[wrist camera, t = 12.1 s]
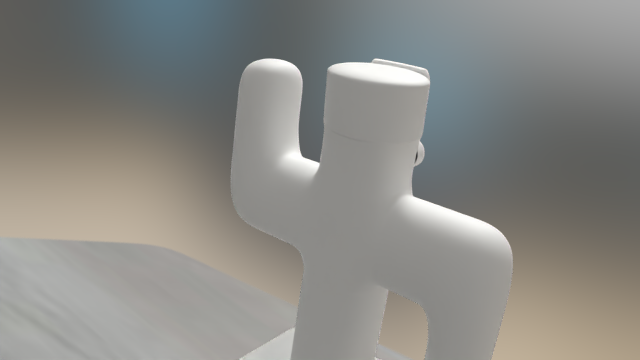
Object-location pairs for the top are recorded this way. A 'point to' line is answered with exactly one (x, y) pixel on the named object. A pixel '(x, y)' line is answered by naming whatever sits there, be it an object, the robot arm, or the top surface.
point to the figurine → (362, 215)
